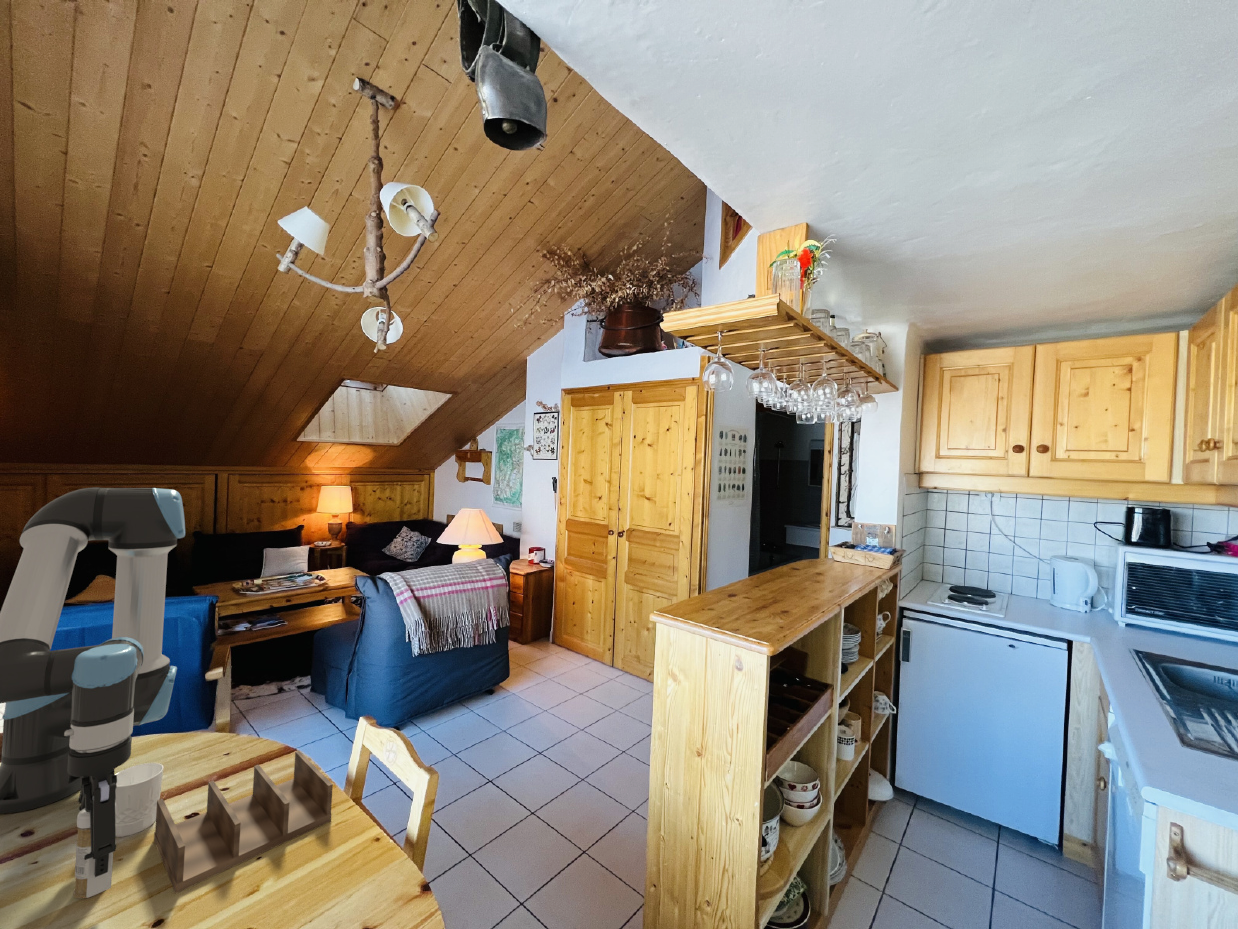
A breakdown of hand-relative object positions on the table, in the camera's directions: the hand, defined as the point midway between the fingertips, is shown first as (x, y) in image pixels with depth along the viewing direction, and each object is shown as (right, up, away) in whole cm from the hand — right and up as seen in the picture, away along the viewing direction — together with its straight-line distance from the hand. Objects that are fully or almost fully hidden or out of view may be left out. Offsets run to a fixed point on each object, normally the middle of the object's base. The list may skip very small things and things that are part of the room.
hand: (93, 869), depth 86 cm
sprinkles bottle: (0, -3, 0) cm, 3 cm away
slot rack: (+15, -4, +15) cm, 21 cm away
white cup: (-7, -3, +15) cm, 17 cm away
